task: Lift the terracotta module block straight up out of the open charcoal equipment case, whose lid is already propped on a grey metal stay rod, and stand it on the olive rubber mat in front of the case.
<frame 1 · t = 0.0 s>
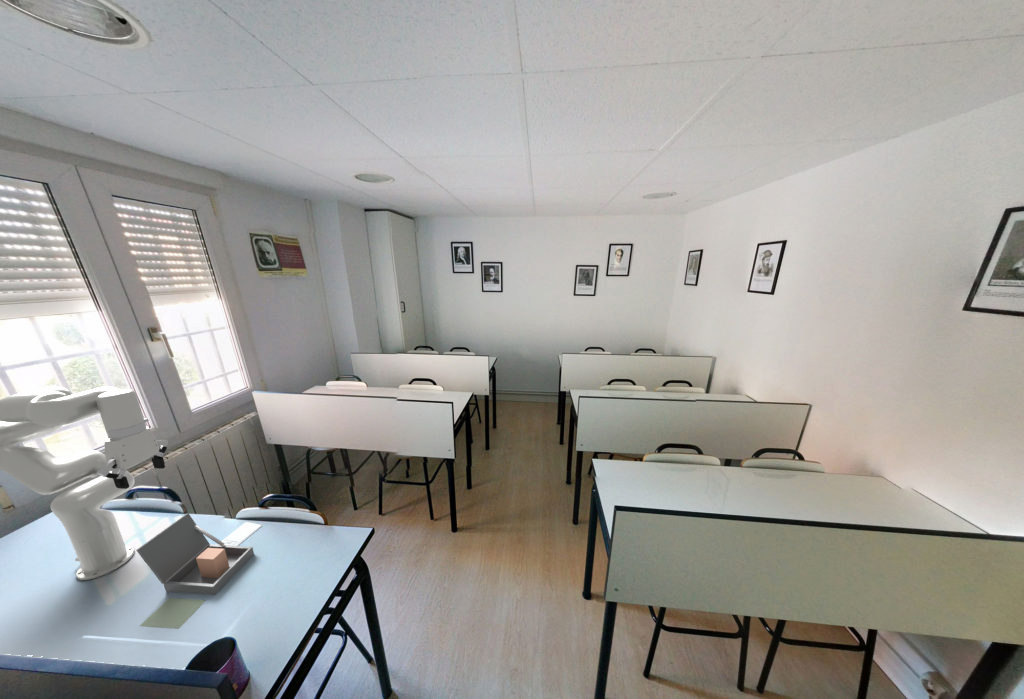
hand: (142, 477, 99), 37 cm above the table, tool pointing down, fingers open, 9 cm apart
module: (215, 571, 106), point 1 cm above the table, touching equipment case
external hard drive: (239, 539, 121), on the table
equipment case: (213, 573, 107), on the table
olive mat: (174, 613, 94), on the table
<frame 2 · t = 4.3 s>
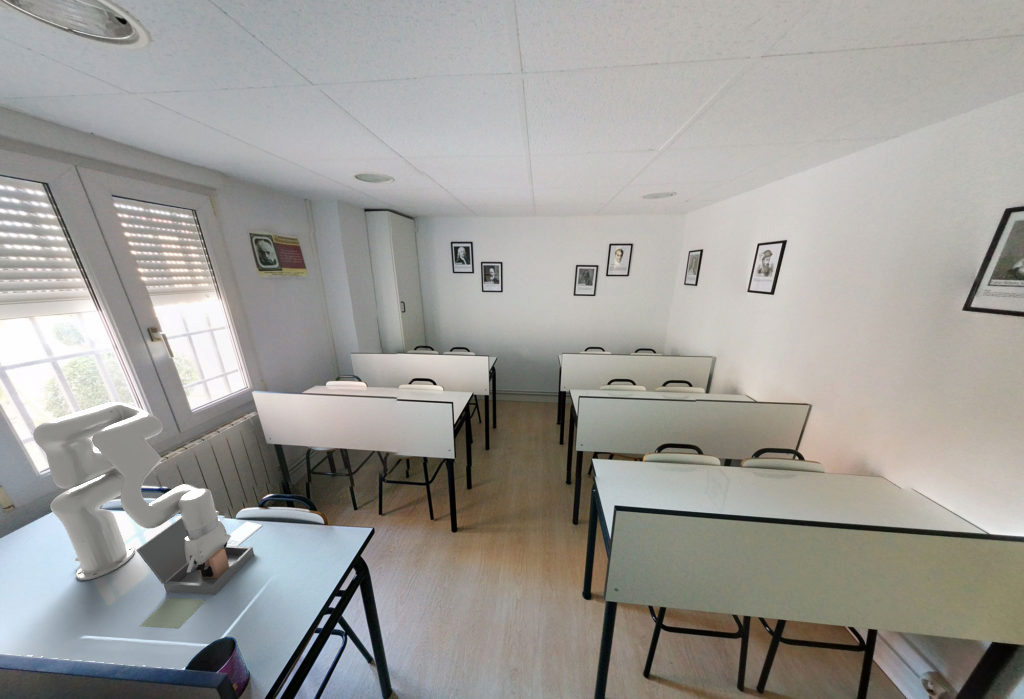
hand: (214, 568, 106), 2 cm above the table, tool pointing down, fingers closed on module, 4 cm apart
module: (215, 571, 106), point 1 cm above the table, touching equipment case, gripper
everything else where it was.
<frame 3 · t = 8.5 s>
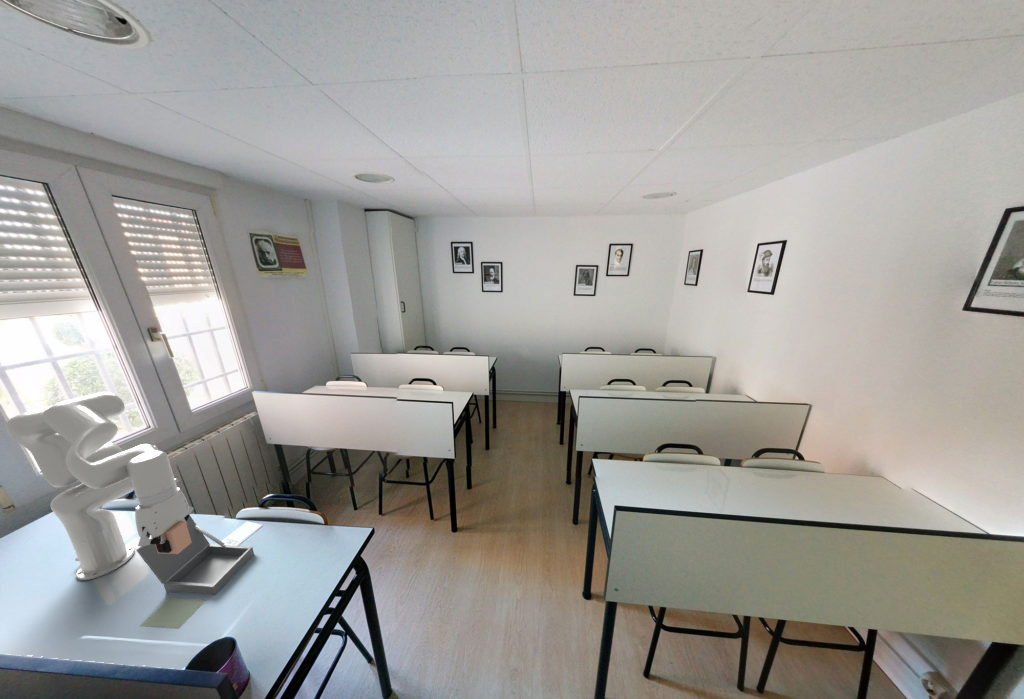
hand: (173, 544, 93), 21 cm above the table, tool pointing down, fingers closed on module, 4 cm apart
module: (175, 547, 93), point 20 cm above the table, touching gripper
everything else where it was.
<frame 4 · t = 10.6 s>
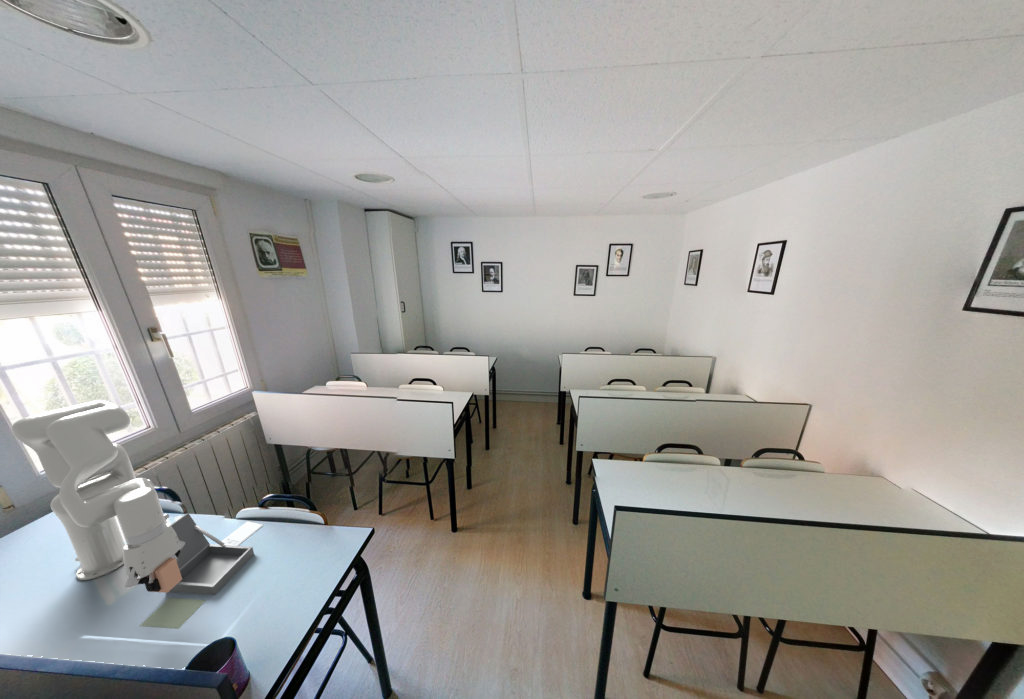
hand: (164, 581, 91), 13 cm above the table, tool pointing down, fingers closed on module, 4 cm apart
module: (165, 585, 91), point 11 cm above the table, touching gripper
everything else where it was.
when the fingers open (3 cm above the table, at t = 12.7 s): module stays where it is, resting on olive mat.
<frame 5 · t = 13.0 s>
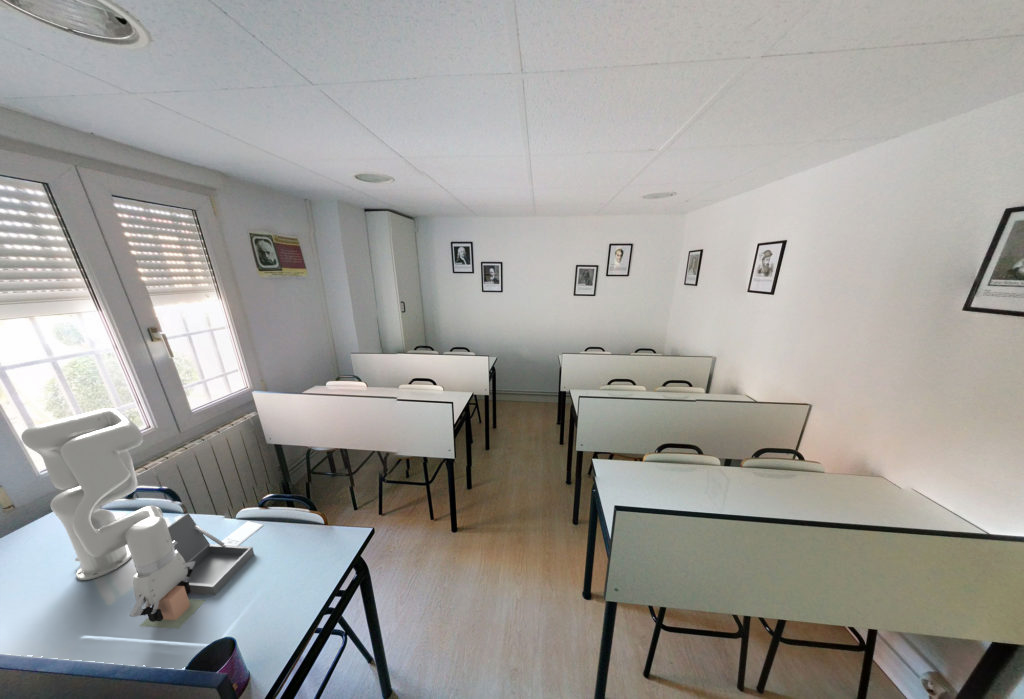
hand: (171, 605, 93), 3 cm above the table, tool pointing down, fingers open, 7 cm apart
module: (174, 612, 94), point 1 cm above the table, touching olive mat
everything else where it was.
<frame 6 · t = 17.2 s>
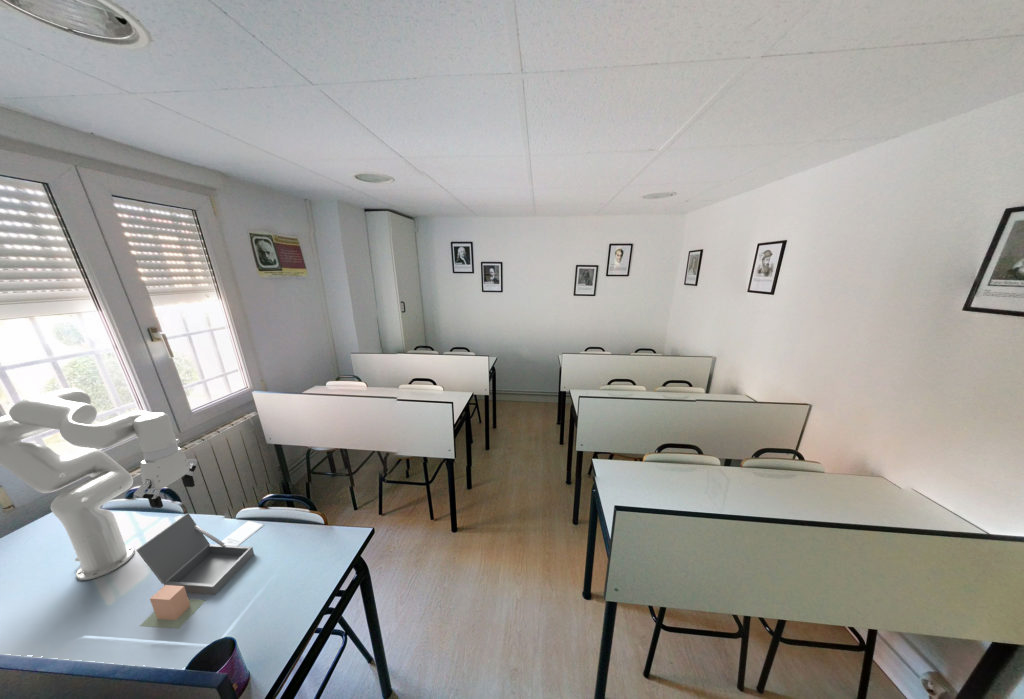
hand: (174, 496, 103), 28 cm above the table, tool pointing down, fingers open, 9 cm apart
nothing on the table moved.
at the end: module inside the target area on the olive mat (0.0 cm from its centre), point 0.6 cm above the olive mat's base; module tilted 0°; the gripper is holding nothing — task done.
